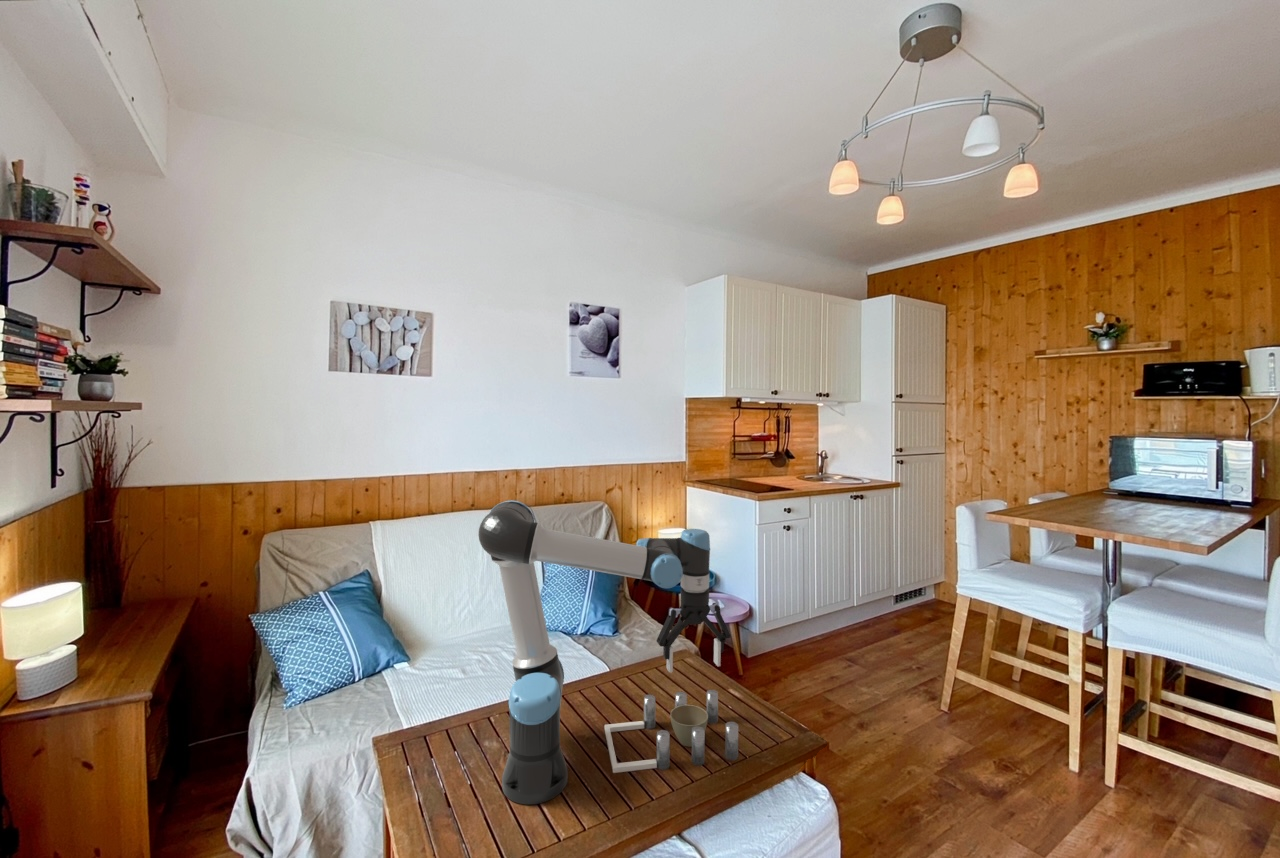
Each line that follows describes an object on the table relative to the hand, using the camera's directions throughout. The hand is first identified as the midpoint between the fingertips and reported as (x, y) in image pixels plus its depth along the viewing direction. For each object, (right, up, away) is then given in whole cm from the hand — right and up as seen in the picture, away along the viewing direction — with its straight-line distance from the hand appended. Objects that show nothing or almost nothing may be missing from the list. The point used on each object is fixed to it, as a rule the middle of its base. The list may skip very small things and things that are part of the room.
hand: (693, 667), depth 144 cm
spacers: (-1, -19, 0) cm, 19 cm away
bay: (-17, -19, -3) cm, 26 cm away
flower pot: (-1, -20, 0) cm, 20 cm away
